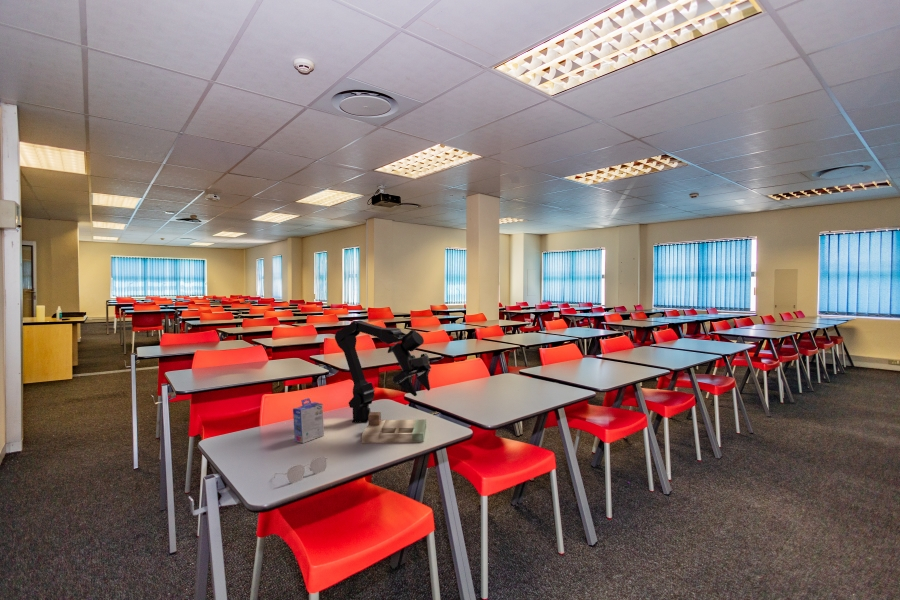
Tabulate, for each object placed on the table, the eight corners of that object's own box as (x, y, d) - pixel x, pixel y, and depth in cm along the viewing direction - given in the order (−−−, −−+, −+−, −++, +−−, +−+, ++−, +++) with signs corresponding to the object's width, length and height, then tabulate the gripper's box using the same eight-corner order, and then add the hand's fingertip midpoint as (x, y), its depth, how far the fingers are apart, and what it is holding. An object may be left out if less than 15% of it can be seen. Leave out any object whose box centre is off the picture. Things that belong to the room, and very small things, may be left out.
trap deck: (362, 443, 151) (361, 434, 151) (370, 428, 167) (370, 420, 167) (423, 441, 151) (423, 433, 151) (426, 426, 167) (426, 419, 167)
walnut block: (368, 425, 161) (368, 415, 161) (370, 422, 165) (370, 412, 165) (379, 425, 161) (378, 415, 161) (381, 422, 165) (380, 411, 165)
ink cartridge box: (315, 432, 163) (314, 395, 163) (324, 435, 160) (323, 397, 159) (293, 440, 155) (291, 401, 154) (302, 443, 152) (301, 403, 151)
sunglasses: (287, 487, 119) (284, 469, 120) (272, 483, 125) (270, 466, 125) (329, 470, 130) (327, 453, 130) (314, 467, 135) (312, 452, 136)
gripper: (403, 350, 153) (424, 388, 150) (431, 343, 170) (450, 378, 166) (383, 365, 158) (402, 402, 155) (412, 357, 175) (430, 391, 171)
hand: (422, 392), depth 161 cm, fingers open, 9 cm apart
